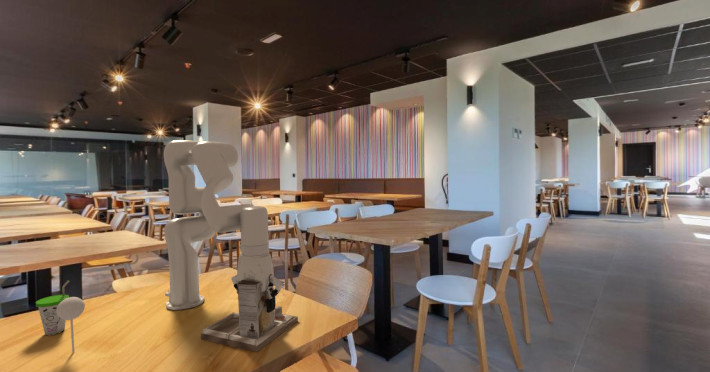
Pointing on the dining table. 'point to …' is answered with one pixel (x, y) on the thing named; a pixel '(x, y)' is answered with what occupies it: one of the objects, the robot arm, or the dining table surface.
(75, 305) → the lollipop
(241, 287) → the coffee box
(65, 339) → the dining table surface
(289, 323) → the grey compartment tray
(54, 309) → the cup
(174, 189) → the robot arm
